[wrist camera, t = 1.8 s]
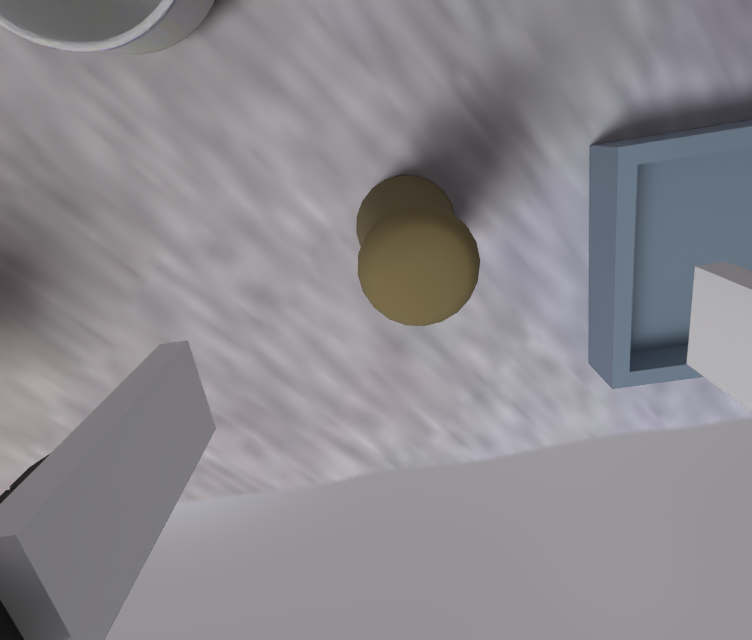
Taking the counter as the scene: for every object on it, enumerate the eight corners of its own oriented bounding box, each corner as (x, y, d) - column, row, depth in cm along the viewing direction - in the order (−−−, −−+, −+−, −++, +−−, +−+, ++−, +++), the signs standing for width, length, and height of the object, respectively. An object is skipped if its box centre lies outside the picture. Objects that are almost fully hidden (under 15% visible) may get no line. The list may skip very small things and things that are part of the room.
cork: (476, 229, 30) (529, 281, 19) (401, 293, 31) (413, 373, 21) (410, 152, 28) (430, 163, 18) (335, 223, 29) (313, 272, 19)
